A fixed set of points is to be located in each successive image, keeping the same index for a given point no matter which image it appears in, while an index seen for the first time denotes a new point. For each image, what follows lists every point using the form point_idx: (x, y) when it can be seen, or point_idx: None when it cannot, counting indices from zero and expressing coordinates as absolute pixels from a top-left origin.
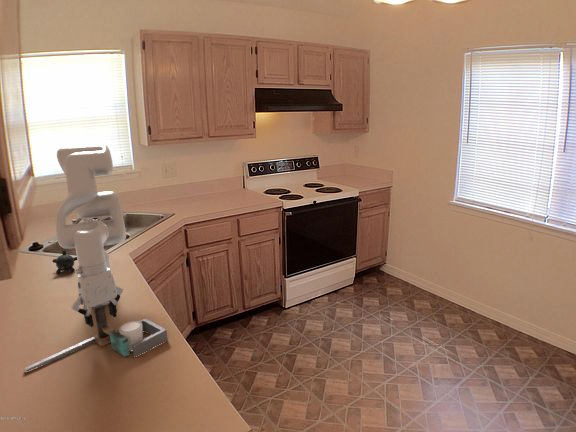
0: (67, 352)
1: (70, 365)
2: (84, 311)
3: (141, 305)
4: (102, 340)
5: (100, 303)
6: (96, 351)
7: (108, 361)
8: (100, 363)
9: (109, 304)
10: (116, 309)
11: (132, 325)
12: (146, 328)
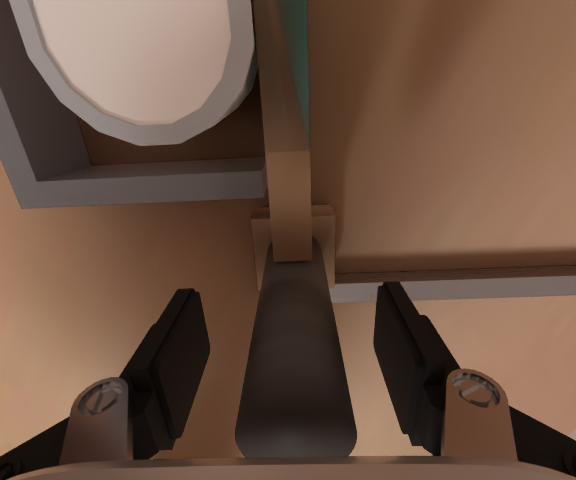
0: (464, 275)
1: (513, 168)
2: (531, 451)
3: (45, 394)
4: (324, 215)
5: (333, 477)
6: (366, 187)
7: (382, 18)
8: (421, 41)
9: (169, 428)
10: (142, 341)
11: (109, 33)
12: (65, 146)
